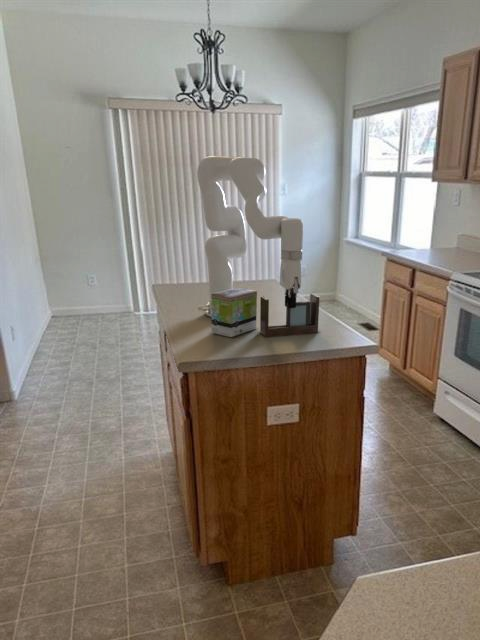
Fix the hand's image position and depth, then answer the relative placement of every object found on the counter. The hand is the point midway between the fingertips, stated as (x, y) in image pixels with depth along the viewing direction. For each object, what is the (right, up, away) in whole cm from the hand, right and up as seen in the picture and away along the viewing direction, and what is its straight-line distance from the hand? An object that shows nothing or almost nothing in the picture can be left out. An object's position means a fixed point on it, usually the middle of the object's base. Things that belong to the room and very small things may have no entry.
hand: (290, 306), depth 192 cm
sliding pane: (+3, -8, +4) cm, 9 cm away
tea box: (-21, -8, +5) cm, 23 cm away
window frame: (0, -9, +5) cm, 10 cm away
